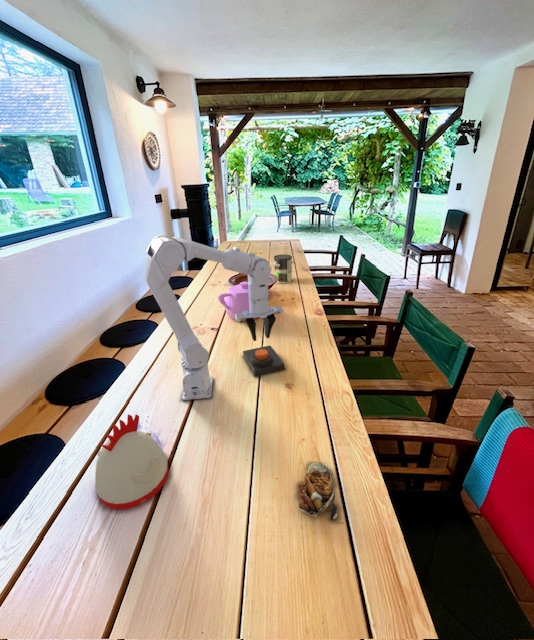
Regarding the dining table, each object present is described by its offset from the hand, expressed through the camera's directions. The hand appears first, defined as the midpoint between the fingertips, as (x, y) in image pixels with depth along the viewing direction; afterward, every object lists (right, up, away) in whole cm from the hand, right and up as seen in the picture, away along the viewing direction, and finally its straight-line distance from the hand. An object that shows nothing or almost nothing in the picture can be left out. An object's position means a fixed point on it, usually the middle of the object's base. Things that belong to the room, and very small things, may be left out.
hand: (260, 338), depth 100 cm
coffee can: (+11, +28, +86) cm, 92 cm away
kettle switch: (+1, -9, +6) cm, 11 cm away
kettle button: (0, -6, +3) cm, 7 cm away
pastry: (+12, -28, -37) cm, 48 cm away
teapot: (-7, +7, +43) cm, 44 cm away
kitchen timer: (-26, -28, -33) cm, 50 cm away
